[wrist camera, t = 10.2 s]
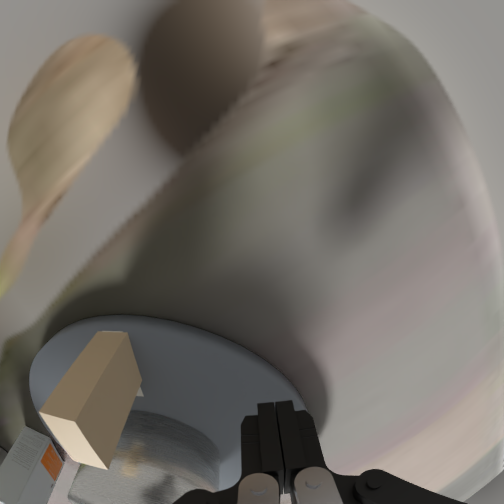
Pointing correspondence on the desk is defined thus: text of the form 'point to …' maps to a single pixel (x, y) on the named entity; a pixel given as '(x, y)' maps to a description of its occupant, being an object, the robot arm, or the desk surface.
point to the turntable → (149, 385)
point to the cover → (150, 464)
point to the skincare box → (29, 469)
